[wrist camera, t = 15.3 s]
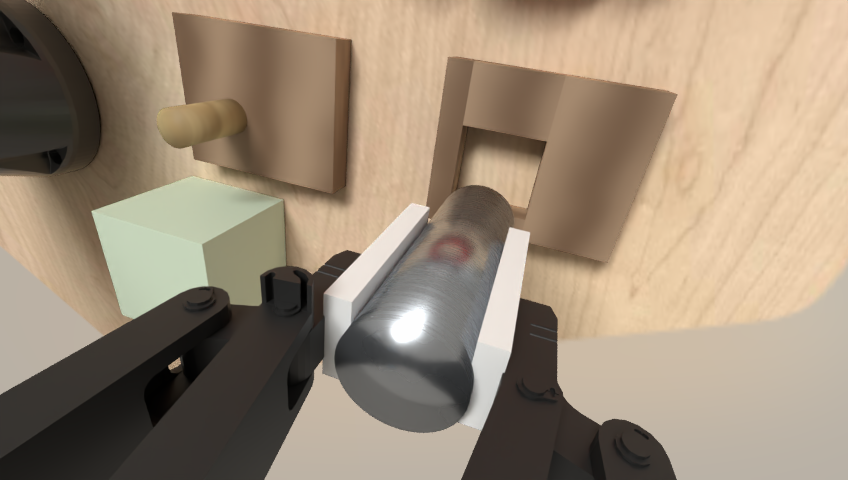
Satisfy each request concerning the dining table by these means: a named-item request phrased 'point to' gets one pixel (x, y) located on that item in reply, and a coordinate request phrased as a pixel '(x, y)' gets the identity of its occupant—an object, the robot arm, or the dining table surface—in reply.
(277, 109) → the board
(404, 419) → the peg
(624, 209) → the square hole block
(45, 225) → the dining table surface
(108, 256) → the pale green cube
